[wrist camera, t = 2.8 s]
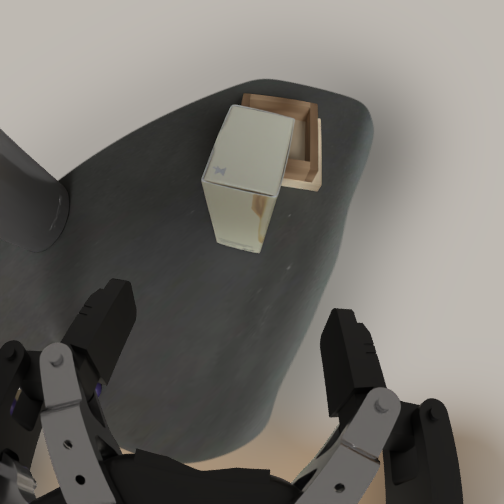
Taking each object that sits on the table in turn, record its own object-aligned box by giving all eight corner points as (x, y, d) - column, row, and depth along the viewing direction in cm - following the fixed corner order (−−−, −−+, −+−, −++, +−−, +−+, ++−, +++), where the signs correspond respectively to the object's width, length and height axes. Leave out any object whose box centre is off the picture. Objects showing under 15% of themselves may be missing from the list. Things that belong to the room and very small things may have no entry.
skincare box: (260, 254, 26) (278, 205, 14) (215, 243, 26) (196, 186, 14) (275, 194, 27) (298, 115, 15) (233, 184, 27) (230, 101, 15)
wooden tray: (222, 178, 27) (219, 158, 23) (234, 114, 29) (234, 91, 25) (317, 191, 27) (328, 173, 24) (317, 126, 29) (326, 105, 26)
